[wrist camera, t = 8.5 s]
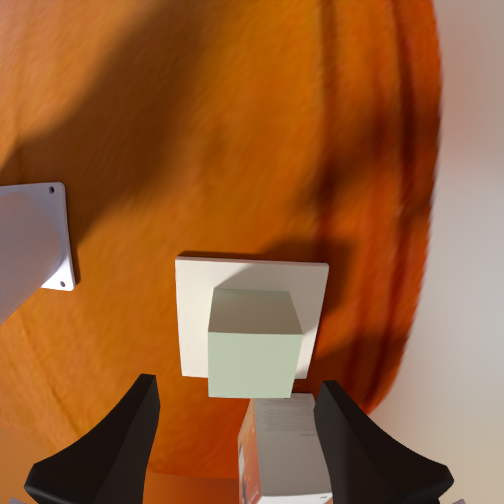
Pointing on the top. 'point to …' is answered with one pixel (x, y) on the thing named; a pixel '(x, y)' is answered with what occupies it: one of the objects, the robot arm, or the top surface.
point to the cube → (252, 344)
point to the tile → (246, 278)
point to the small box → (282, 453)
